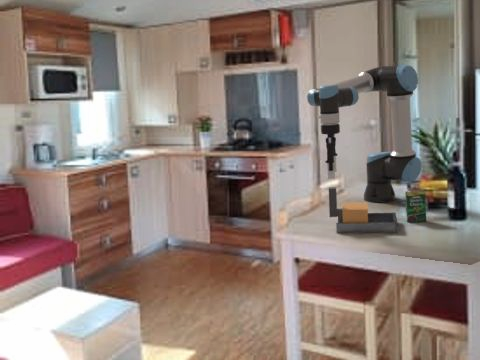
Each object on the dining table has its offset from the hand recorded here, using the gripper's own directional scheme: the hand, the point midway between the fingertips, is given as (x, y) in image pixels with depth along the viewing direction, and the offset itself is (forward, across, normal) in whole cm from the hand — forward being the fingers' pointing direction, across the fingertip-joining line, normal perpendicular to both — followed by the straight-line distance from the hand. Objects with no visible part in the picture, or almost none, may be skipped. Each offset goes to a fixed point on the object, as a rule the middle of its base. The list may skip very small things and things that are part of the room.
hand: (332, 175), depth 232 cm
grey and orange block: (+21, 0, +6) cm, 22 cm away
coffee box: (+23, -8, +34) cm, 41 cm away
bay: (+22, 0, +13) cm, 26 cm away
